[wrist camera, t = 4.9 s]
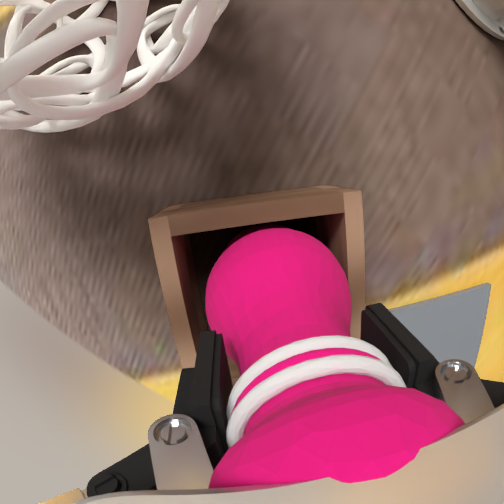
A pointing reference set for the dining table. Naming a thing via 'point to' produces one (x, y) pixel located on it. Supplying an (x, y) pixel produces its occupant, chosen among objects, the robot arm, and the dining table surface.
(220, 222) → the holder
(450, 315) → the mat
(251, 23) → the dining table surface
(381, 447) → the pink bowling pin
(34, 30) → the decorative ball
